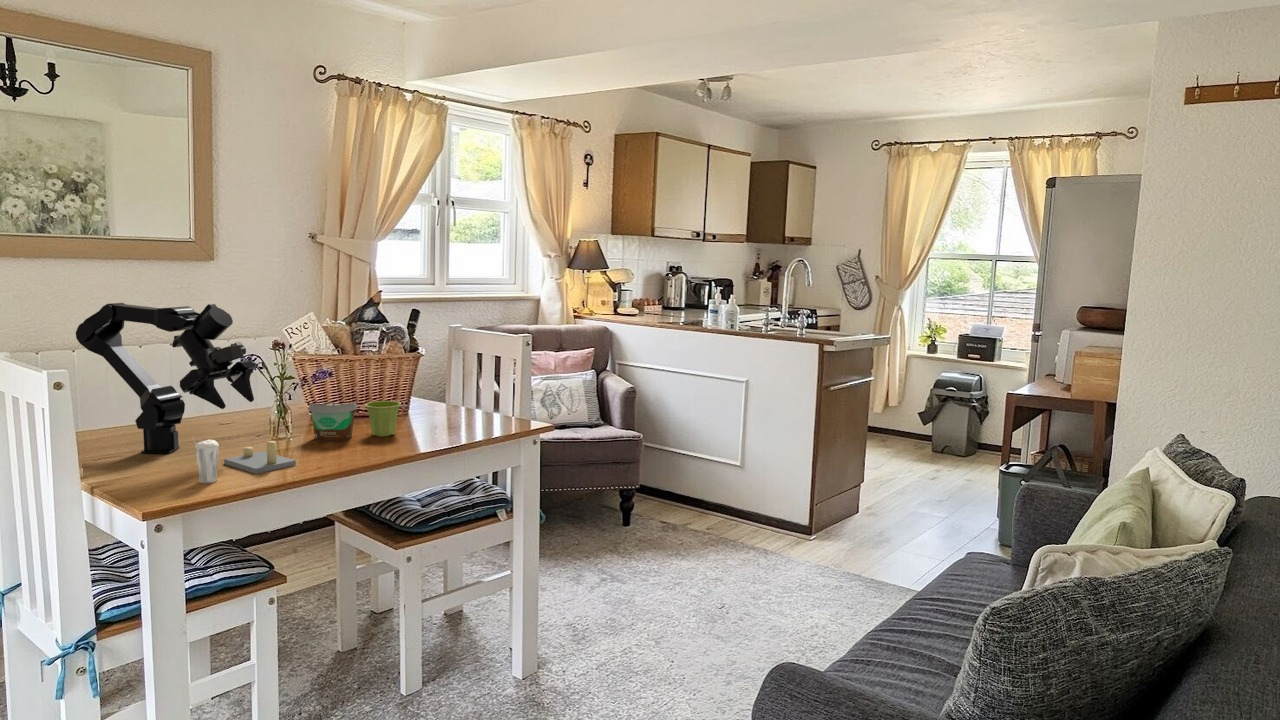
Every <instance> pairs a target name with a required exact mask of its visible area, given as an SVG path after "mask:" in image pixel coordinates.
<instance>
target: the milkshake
mask: <svg viewBox="0 0 1280 720" xmlns="http://www.w3.org/2000/svg"><path fill="white" fill-rule="evenodd" d="M191 438H192V440H193V443H194V447H195V448H194V449H195V455H196V460H197V469H198V480H199V483H200V484H213V483H215V482H217V477H218V476H217V474H218V459H219V458H218V457H219V450H220V449H219V446H220V445H219V443H218V442H217V441H216V440H214V439H207V440H201V441H198V442H196V439H195V438H194V436H193V435H192V436H191Z"/></svg>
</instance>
